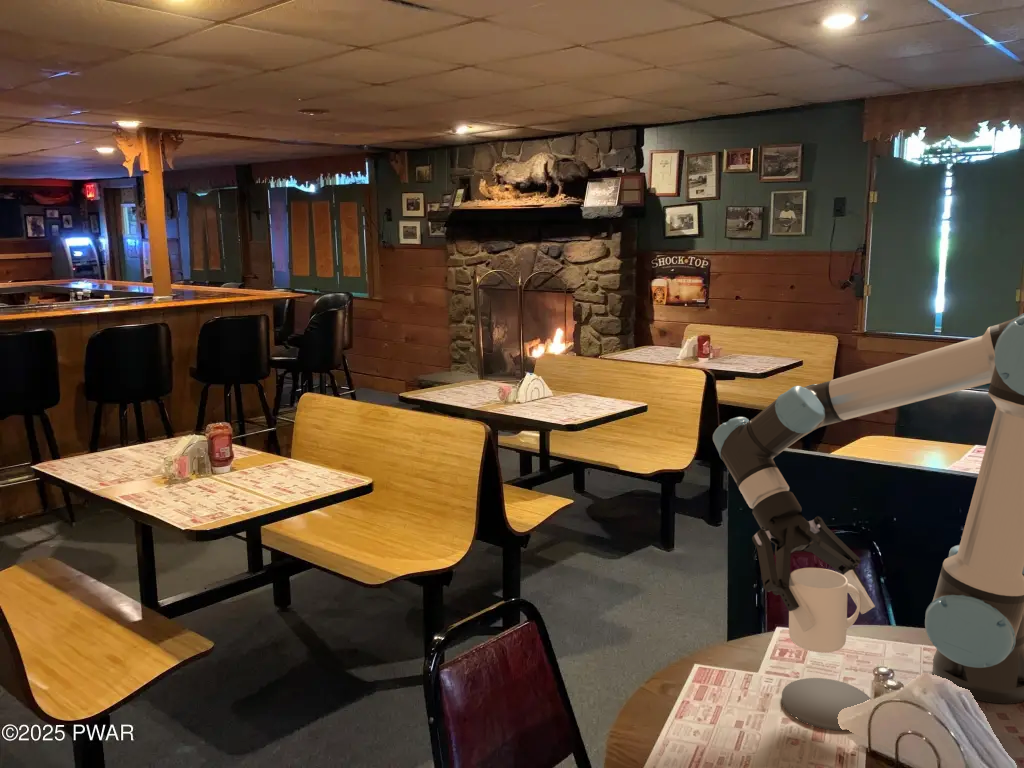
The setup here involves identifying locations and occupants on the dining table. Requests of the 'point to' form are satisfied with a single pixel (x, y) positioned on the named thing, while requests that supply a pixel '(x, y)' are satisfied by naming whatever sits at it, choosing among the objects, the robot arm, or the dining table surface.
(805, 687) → the coaster mat
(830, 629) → the mug
